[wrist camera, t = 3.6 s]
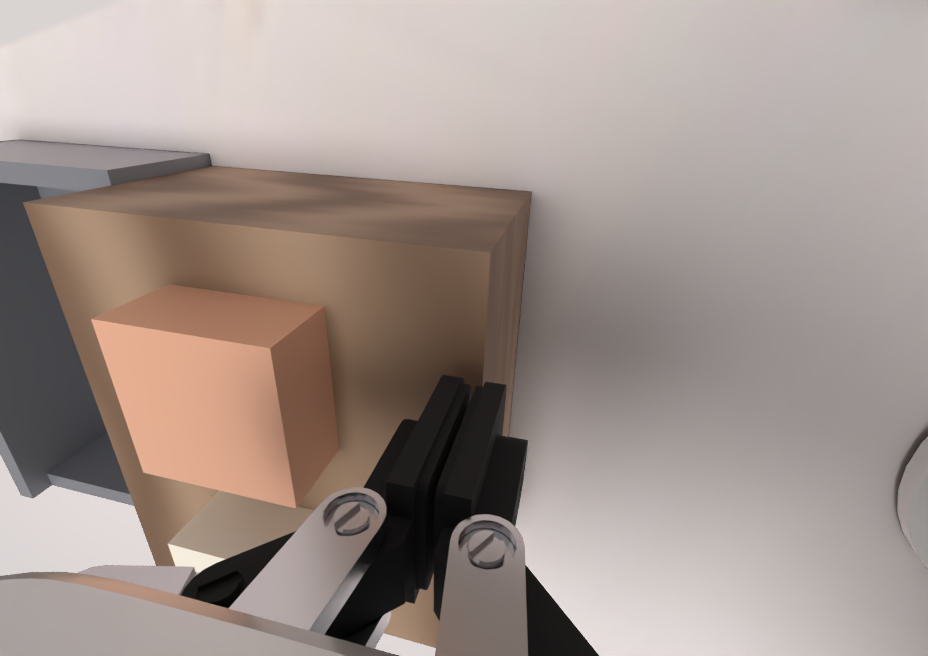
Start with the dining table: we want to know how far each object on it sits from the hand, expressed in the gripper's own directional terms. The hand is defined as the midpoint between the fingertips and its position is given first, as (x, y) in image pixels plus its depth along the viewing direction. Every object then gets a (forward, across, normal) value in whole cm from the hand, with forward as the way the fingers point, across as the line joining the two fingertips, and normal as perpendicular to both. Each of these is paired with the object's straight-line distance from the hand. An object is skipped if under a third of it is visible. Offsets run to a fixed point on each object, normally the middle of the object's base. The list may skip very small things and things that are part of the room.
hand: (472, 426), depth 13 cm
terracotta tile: (+1, +7, 0) cm, 7 cm away
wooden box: (+9, +7, +4) cm, 12 cm away
